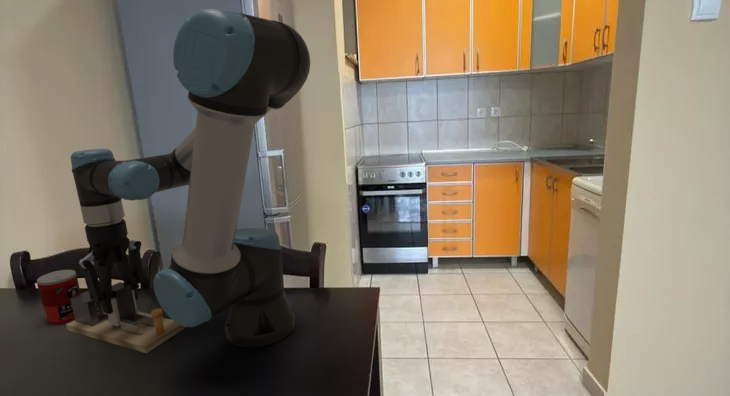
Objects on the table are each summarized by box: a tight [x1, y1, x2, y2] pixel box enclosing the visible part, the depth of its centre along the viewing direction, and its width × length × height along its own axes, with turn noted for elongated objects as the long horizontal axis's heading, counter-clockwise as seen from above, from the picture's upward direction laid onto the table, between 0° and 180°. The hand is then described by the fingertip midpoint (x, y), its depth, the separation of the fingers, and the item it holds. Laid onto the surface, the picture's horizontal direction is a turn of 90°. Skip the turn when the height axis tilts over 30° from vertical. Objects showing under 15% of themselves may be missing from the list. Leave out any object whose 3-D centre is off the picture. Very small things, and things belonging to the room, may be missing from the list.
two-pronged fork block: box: [96, 281, 155, 334], centre depth 92 cm, size 19×5×9 cm, turn 67°
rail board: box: [65, 312, 185, 354], centre depth 93 cm, size 26×10×2 cm, turn 67°
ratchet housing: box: [70, 290, 103, 326], centre depth 96 cm, size 6×7×6 cm
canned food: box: [36, 269, 82, 325], centre depth 99 cm, size 8×8×11 cm
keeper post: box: [150, 307, 164, 335], centre depth 88 cm, size 2×2×5 cm
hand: (124, 319), depth 93 cm, fingers closed on two-pronged fork block, 4 cm apart
